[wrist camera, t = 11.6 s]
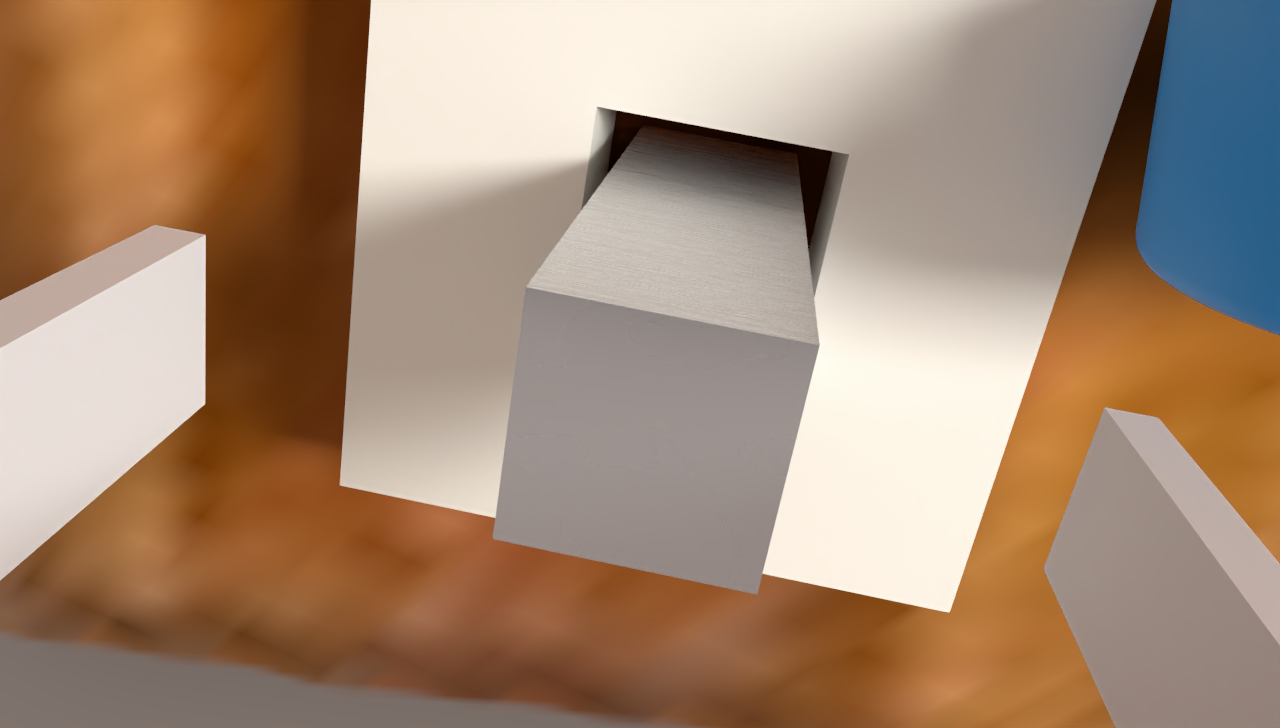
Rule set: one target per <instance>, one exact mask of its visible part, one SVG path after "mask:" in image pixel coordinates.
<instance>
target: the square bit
mask: <svg viewBox="0 0 1280 728" xmlns="http://www.w3.org/2000/svg"><path fill="white" fill-rule="evenodd" d="M819 346H820V344H819V336H818V327H817V319H816V310H815V302H814V294H813V285H812V277H811V268H810V260H809V252H808V243H807V235H806V226H805V218H804V210H803V201H802V193H801V184H800V176H799V168H798V159H797V154H795V153H789V152H784V151H779V150H774V149H768V148H763V147H758V146H753V145H747V144H742V143H737V142H731V141H726V140H721V139H716V138H710V137H705V136H700V135H695V134H689V133H684V132H679V131H674V130H668V129H663V128H658V127H653V126H647V125H643V126H642V128H641V129H640V130H639V132H638V133H637V135H636V136H635V137H634V139H633V140H632V141H631V143H630V144H629V146H628V147H627V148H626V150H625V151H624V153H623V154H622V155H621V157H620V158H619V159H618V161H617V162H616V164H615V165H614V166H613V168H612V169H611V170H610V172H609V173H608V175H607V176H606V177H605V179H604V180H603V181H602V183H601V184H600V186H599V187H598V188H597V190H596V191H595V192H594V194H593V195H592V197H591V198H590V199H589V201H588V202H587V203H586V205H585V206H584V208H583V209H582V210H581V212H580V213H579V214H578V216H577V217H576V219H575V220H574V221H573V223H572V224H571V225H570V227H569V228H568V230H567V231H566V232H565V234H564V235H563V236H562V238H561V239H560V241H559V242H558V243H557V245H556V246H555V247H554V249H553V250H552V252H551V253H550V254H549V256H548V257H547V258H546V260H545V261H544V263H543V264H542V265H541V267H540V268H539V269H538V271H537V272H536V274H535V275H534V276H533V278H532V279H531V280H530V282H529V283H528V285H527V286H526V289H525V297H524V304H523V312H522V319H521V327H520V335H519V342H518V350H517V357H516V365H515V373H514V380H513V388H512V395H511V403H510V411H509V418H508V426H507V433H506V441H505V449H504V456H503V464H502V471H501V479H500V487H499V494H498V502H497V509H496V517H495V525H494V532H493V539H495V540H500V541H505V542H510V543H514V544H519V545H524V546H529V547H533V548H538V549H543V550H548V551H552V552H557V553H562V554H567V555H572V556H576V557H581V558H586V559H591V560H595V561H600V562H605V563H610V564H614V565H619V566H624V567H629V568H633V569H638V570H643V571H648V572H653V573H657V574H662V575H667V576H672V577H676V578H681V579H686V580H691V581H695V582H700V583H705V584H710V585H715V586H719V587H724V588H729V589H734V590H738V591H743V592H748V593H753V594H757V593H758V589H759V585H760V581H761V577H762V573H763V569H764V565H765V561H766V557H767V553H768V549H769V545H770V541H771V537H772V533H773V529H774V525H775V521H776V517H777V513H778V509H779V505H780V501H781V497H782V493H783V489H784V485H785V481H786V477H787V473H788V469H789V465H790V462H791V458H792V454H793V450H794V446H795V442H796V438H797V434H798V430H799V426H800V422H801V418H802V414H803V410H804V406H805V402H806V398H807V394H808V390H809V386H810V382H811V378H812V374H813V370H814V366H815V362H816V358H817V354H818V350H819Z"/></svg>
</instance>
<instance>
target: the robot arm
mask: <svg viewBox="0 0 1280 728" xmlns="http://www.w3.org/2000/svg"><path fill="white" fill-rule="evenodd" d="M205 310H206V235H205V234H199V233H194V232H189V231H184V230H179V229H173V228H168V227H163V226H158V225H153V226H151V227H149V228H147V229H145V230H143V231H141V232H139V233H137V234H135V235H133V236H131V237H129V238H127V239H125V240H123V241H121V242H119V243H117V244H115V245H112V246H110V247H108V248H106V249H104V250H102V251H100V252H98V253H96V254H94V255H92V256H90V257H88V258H86V259H84V260H82V261H80V262H78V263H76V264H74V265H72V266H70V267H67V268H65V269H63V270H61V271H59V272H57V273H55V274H53V275H51V276H49V277H47V278H45V279H43V280H41V281H39V282H37V283H35V284H33V285H31V286H29V287H27V288H25V289H22V290H20V291H18V292H16V293H14V294H12V295H10V296H8V297H6V298H4V299H2V300H0V580H1V579H2V578H4V577H5V576H6V575H7V574H8V573H9V572H11V571H12V570H13V569H14V568H15V567H16V566H17V565H19V564H20V563H21V562H22V561H23V560H24V559H26V558H27V557H28V556H29V555H30V554H31V553H33V552H34V551H35V550H36V549H37V548H38V547H40V546H41V545H42V544H43V543H44V542H45V541H47V540H48V539H49V538H50V537H51V536H52V535H54V534H55V533H56V532H57V531H58V530H59V529H60V528H62V527H63V526H64V525H65V524H66V523H67V522H69V521H70V520H71V519H72V518H73V517H74V516H76V515H77V514H78V513H79V512H80V511H81V510H83V509H84V508H85V507H86V506H87V505H88V504H90V503H91V502H92V501H93V500H94V499H95V498H97V497H98V496H99V495H100V494H101V493H102V492H104V491H105V490H106V489H107V488H108V487H109V486H110V485H112V484H113V483H114V482H115V481H116V480H117V479H119V478H120V477H121V476H122V475H123V474H124V473H126V472H127V471H128V470H129V469H130V468H131V467H133V466H134V465H135V464H136V463H137V462H138V461H140V460H141V459H142V458H143V457H144V456H145V455H147V454H148V453H149V452H150V451H151V450H152V449H153V448H155V447H156V446H157V445H158V444H159V443H160V442H162V441H163V440H164V439H165V438H166V437H167V436H169V435H170V434H171V433H172V432H173V431H174V430H176V429H177V428H178V427H179V426H180V425H181V424H183V423H184V422H185V421H186V420H187V419H188V418H190V417H191V416H192V415H193V414H194V413H195V412H197V411H198V410H199V409H200V408H201V407H202V406H203V405H205ZM1044 571H1045V574H1046V576H1047V578H1048V580H1049V582H1050V585H1051V587H1052V589H1053V591H1054V593H1055V596H1056V598H1057V600H1058V602H1059V604H1060V607H1061V609H1062V611H1063V613H1064V616H1065V618H1066V620H1067V622H1068V624H1069V627H1070V629H1071V631H1072V633H1073V635H1074V638H1075V640H1076V642H1077V644H1078V646H1079V649H1080V651H1081V653H1082V655H1083V657H1084V660H1085V662H1086V664H1087V666H1088V668H1089V671H1090V673H1091V675H1092V677H1093V679H1094V682H1095V684H1096V686H1097V688H1098V690H1099V693H1100V695H1101V697H1102V699H1103V702H1104V704H1105V706H1106V708H1107V710H1108V713H1109V715H1110V717H1111V719H1112V721H1113V724H1114V726H1115V728H1280V564H1279V562H1278V561H1277V560H1276V559H1275V558H1274V556H1273V555H1272V554H1271V553H1270V551H1269V550H1268V549H1267V548H1266V547H1265V545H1264V544H1263V543H1262V542H1261V541H1260V539H1259V538H1258V537H1257V536H1256V535H1255V533H1254V532H1253V531H1252V530H1251V529H1250V527H1249V526H1248V525H1247V524H1246V523H1245V521H1244V520H1243V519H1242V518H1241V517H1240V515H1239V514H1238V513H1237V512H1236V511H1235V509H1234V508H1233V507H1232V506H1231V505H1230V503H1229V502H1228V501H1227V500H1226V499H1225V497H1224V496H1223V495H1222V494H1221V493H1220V491H1219V490H1218V489H1217V488H1216V487H1215V485H1214V484H1213V483H1212V482H1211V480H1210V479H1209V478H1208V477H1207V476H1206V474H1205V473H1204V472H1203V471H1202V470H1201V468H1200V467H1199V466H1198V465H1197V464H1196V462H1195V461H1194V460H1193V459H1192V458H1191V456H1190V455H1189V454H1188V453H1187V452H1186V450H1185V449H1184V448H1183V447H1182V446H1181V444H1180V443H1179V442H1178V441H1177V440H1176V438H1175V437H1174V436H1173V435H1172V434H1171V432H1170V431H1169V430H1168V429H1167V428H1166V426H1165V425H1164V424H1163V423H1162V422H1161V420H1160V419H1159V418H1157V417H1152V416H1146V415H1141V414H1136V413H1131V412H1126V411H1120V410H1115V409H1110V408H1104V410H1103V413H1102V416H1101V418H1100V421H1099V423H1098V426H1097V429H1096V431H1095V434H1094V437H1093V439H1092V442H1091V445H1090V447H1089V450H1088V453H1087V455H1086V458H1085V460H1084V463H1083V466H1082V468H1081V471H1080V474H1079V476H1078V479H1077V482H1076V484H1075V487H1074V490H1073V492H1072V495H1071V497H1070V500H1069V503H1068V505H1067V508H1066V511H1065V513H1064V516H1063V519H1062V521H1061V524H1060V527H1059V529H1058V532H1057V534H1056V537H1055V540H1054V542H1053V545H1052V548H1051V550H1050V553H1049V556H1048V558H1047V561H1046V564H1045V566H1044Z"/></svg>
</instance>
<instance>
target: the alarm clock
mask: <svg viewBox="0 0 1280 728" xmlns="http://www.w3.org/2000/svg"><path fill="white" fill-rule="evenodd" d="M1136 244H1137V248H1138V251H1139V253H1140V254H1141V256H1142V258H1143V259H1144V261H1145V263H1146V264H1147V266H1148V267H1149V268H1150V269H1151V270H1152V271H1153V272H1154V273H1155V274H1156V275H1157V276H1159V277H1160V278H1161V279H1163V280H1164V281H1165V282H1167V283H1168V284H1169V285H1171V286H1172V287H1174V288H1175V289H1177V290H1178V291H1180V292H1182V293H1183V294H1185V295H1187V296H1188V297H1190V298H1192V299H1193V300H1195V301H1197V302H1199V303H1201V304H1203V305H1205V306H1207V307H1209V308H1211V309H1213V310H1215V311H1218V312H1220V313H1223V314H1225V315H1227V316H1230V317H1232V318H1234V319H1237V320H1239V321H1241V322H1244V323H1247V324H1249V325H1252V326H1255V327H1258V328H1260V329H1263V330H1266V331H1268V332H1271V333H1274V334H1277V335H1280V0H1172V6H1171V12H1170V19H1169V25H1168V31H1167V38H1166V44H1165V50H1164V57H1163V63H1162V69H1161V75H1160V82H1159V88H1158V94H1157V101H1156V107H1155V113H1154V120H1153V126H1152V132H1151V138H1150V145H1149V151H1148V157H1147V164H1146V170H1145V176H1144V183H1143V189H1142V195H1141V201H1140V208H1139V214H1138V220H1137V227H1136Z"/></svg>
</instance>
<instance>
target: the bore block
mask: <svg viewBox="0 0 1280 728" xmlns="http://www.w3.org/2000/svg"><path fill="white" fill-rule="evenodd" d="M1156 1H1157V0H371V11H370V26H369V42H368V57H367V73H366V88H365V104H364V119H363V135H362V150H361V165H360V181H359V196H358V212H357V227H356V243H355V258H354V274H353V289H352V305H351V320H350V336H349V351H348V367H347V382H346V397H345V413H344V428H343V444H342V459H341V475H340V485H341V486H345V487H350V488H355V489H360V490H365V491H369V492H374V493H379V494H384V495H389V496H393V497H398V498H403V499H408V500H413V501H417V502H422V503H427V504H432V505H436V506H441V507H446V508H451V509H456V510H460V511H465V512H470V513H475V514H480V515H484V516H489V517H494V518H495V517H496V509H497V502H498V494H499V487H500V479H501V471H502V464H503V456H504V449H505V441H506V433H507V426H508V418H509V411H510V403H511V395H512V388H513V380H514V373H515V365H516V357H517V350H518V342H519V335H520V327H521V319H522V312H523V304H524V297H525V289H526V286H527V285H528V283H529V282H530V280H531V279H532V278H533V276H534V275H535V274H536V272H537V271H538V269H539V268H540V267H541V265H542V264H543V263H544V261H545V260H546V258H547V257H548V256H549V254H550V253H551V252H552V250H553V249H554V247H555V246H556V245H557V243H558V242H559V241H560V239H561V238H562V236H563V235H564V234H565V232H566V231H567V230H568V228H569V227H570V225H571V224H572V223H573V221H574V220H575V219H576V217H577V216H578V214H579V213H580V212H581V210H582V209H583V208H584V206H585V205H586V203H587V202H588V201H589V199H590V198H591V197H592V195H593V194H594V192H595V191H596V190H597V188H598V187H599V186H600V184H601V183H602V181H603V180H604V179H605V177H606V176H607V171H608V165H609V158H610V152H611V146H612V139H613V133H614V126H615V120H616V114H617V111H623V112H628V113H633V114H639V115H644V116H649V117H654V118H660V119H665V120H670V121H675V122H681V123H686V124H691V125H697V126H702V127H707V128H712V129H718V130H723V131H728V132H733V133H739V134H744V135H749V136H754V137H760V138H765V139H770V140H776V141H781V142H786V143H791V144H797V145H802V146H807V147H812V148H818V149H823V150H828V151H832V155H831V160H830V164H829V168H828V172H827V177H826V181H825V185H824V189H823V193H822V198H821V202H820V206H819V210H818V214H817V219H816V223H815V227H814V231H813V235H812V240H811V244H810V248H809V260H810V268H811V277H812V285H813V294H814V302H815V310H816V319H817V327H818V336H819V344H820V346H819V350H818V354H817V358H816V362H815V366H814V370H813V374H812V378H811V382H810V386H809V390H808V394H807V398H806V402H805V406H804V410H803V414H802V418H801V422H800V426H799V430H798V434H797V438H796V442H795V446H794V450H793V454H792V458H791V462H790V465H789V469H788V473H787V477H786V481H785V485H784V489H783V493H782V497H781V501H780V505H779V509H778V513H777V517H776V521H775V525H774V529H773V533H772V537H771V541H770V545H769V549H768V553H767V557H766V561H765V565H764V569H763V573H762V574H767V575H772V576H776V577H781V578H786V579H791V580H796V581H800V582H805V583H810V584H815V585H819V586H824V587H829V588H834V589H839V590H843V591H848V592H853V593H858V594H863V595H867V596H872V597H877V598H882V599H886V600H891V601H896V602H901V603H906V604H910V605H915V606H920V607H925V608H930V609H934V610H939V611H944V612H949V613H950V610H951V607H952V604H953V601H954V598H955V595H956V592H957V589H958V586H959V583H960V580H961V577H962V574H963V571H964V568H965V565H966V562H967V559H968V556H969V553H970V550H971V547H972V545H973V542H974V539H975V536H976V533H977V530H978V527H979V524H980V521H981V518H982V515H983V512H984V509H985V506H986V503H987V500H988V497H989V494H990V491H991V488H992V485H993V482H994V479H995V477H996V474H997V471H998V468H999V465H1000V462H1001V459H1002V456H1003V453H1004V450H1005V447H1006V444H1007V441H1008V438H1009V435H1010V432H1011V429H1012V426H1013V423H1014V420H1015V417H1016V414H1017V411H1018V409H1019V406H1020V403H1021V400H1022V397H1023V394H1024V391H1025V388H1026V385H1027V382H1028V379H1029V376H1030V373H1031V370H1032V367H1033V364H1034V361H1035V358H1036V355H1037V352H1038V349H1039V346H1040V343H1041V341H1042V338H1043V335H1044V332H1045V329H1046V326H1047V323H1048V320H1049V317H1050V314H1051V311H1052V308H1053V305H1054V302H1055V299H1056V296H1057V293H1058V290H1059V287H1060V284H1061V281H1062V278H1063V275H1064V273H1065V270H1066V267H1067V264H1068V261H1069V258H1070V255H1071V252H1072V249H1073V246H1074V243H1075V240H1076V237H1077V234H1078V231H1079V228H1080V225H1081V222H1082V219H1083V216H1084V213H1085V210H1086V207H1087V205H1088V202H1089V199H1090V196H1091V193H1092V190H1093V187H1094V184H1095V181H1096V178H1097V175H1098V172H1099V169H1100V166H1101V163H1102V160H1103V157H1104V154H1105V151H1106V148H1107V145H1108V142H1109V139H1110V137H1111V134H1112V131H1113V128H1114V125H1115V122H1116V119H1117V116H1118V113H1119V110H1120V107H1121V104H1122V101H1123V98H1124V95H1125V92H1126V89H1127V86H1128V83H1129V80H1130V77H1131V74H1132V71H1133V69H1134V66H1135V63H1136V60H1137V57H1138V54H1139V51H1140V48H1141V45H1142V42H1143V39H1144V36H1145V33H1146V30H1147V27H1148V24H1149V21H1150V18H1151V15H1152V12H1153V9H1154V6H1155V3H1156Z"/></svg>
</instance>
